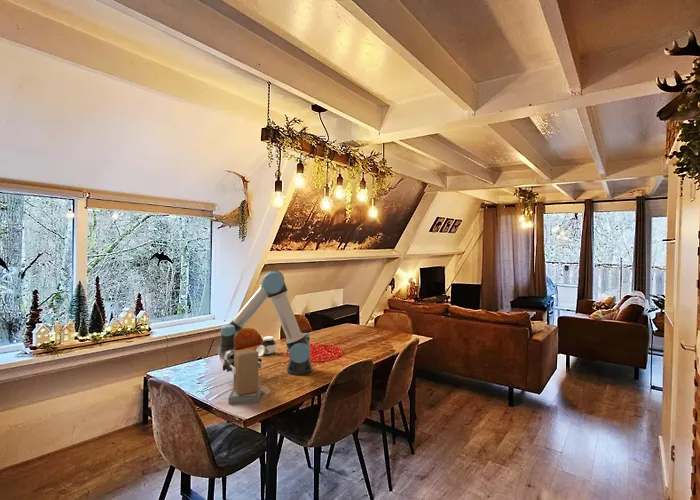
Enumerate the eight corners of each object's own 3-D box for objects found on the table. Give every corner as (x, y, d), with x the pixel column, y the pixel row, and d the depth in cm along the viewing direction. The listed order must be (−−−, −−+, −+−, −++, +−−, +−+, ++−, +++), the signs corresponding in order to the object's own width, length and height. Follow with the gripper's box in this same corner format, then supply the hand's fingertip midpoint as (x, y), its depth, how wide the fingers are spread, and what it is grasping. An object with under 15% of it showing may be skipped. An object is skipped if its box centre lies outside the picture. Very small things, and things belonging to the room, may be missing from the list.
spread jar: (276, 352, 269) (277, 336, 269) (271, 357, 258) (272, 340, 258) (260, 351, 271) (260, 335, 270) (254, 356, 259) (255, 339, 259)
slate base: (261, 391, 198) (261, 385, 198) (257, 402, 184) (258, 396, 184) (234, 392, 197) (234, 386, 197) (228, 403, 183) (228, 397, 183)
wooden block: (252, 386, 197) (252, 347, 197) (258, 392, 189) (259, 352, 189) (233, 389, 192) (233, 350, 192) (238, 396, 184) (238, 355, 184)
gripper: (255, 360, 212) (271, 371, 195) (209, 368, 198) (223, 381, 180) (255, 347, 212) (271, 357, 195) (210, 354, 197) (223, 365, 180)
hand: (248, 368), depth 188 cm, fingers open, 13 cm apart
